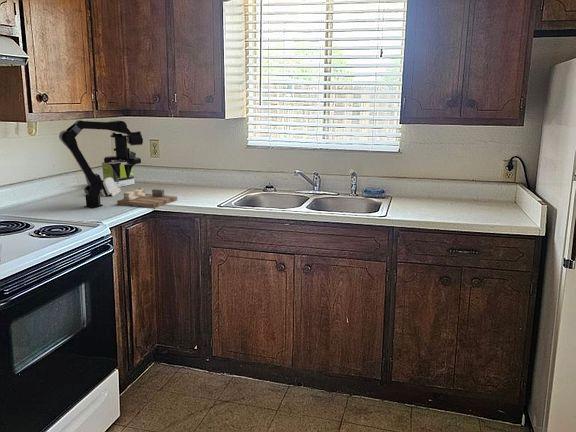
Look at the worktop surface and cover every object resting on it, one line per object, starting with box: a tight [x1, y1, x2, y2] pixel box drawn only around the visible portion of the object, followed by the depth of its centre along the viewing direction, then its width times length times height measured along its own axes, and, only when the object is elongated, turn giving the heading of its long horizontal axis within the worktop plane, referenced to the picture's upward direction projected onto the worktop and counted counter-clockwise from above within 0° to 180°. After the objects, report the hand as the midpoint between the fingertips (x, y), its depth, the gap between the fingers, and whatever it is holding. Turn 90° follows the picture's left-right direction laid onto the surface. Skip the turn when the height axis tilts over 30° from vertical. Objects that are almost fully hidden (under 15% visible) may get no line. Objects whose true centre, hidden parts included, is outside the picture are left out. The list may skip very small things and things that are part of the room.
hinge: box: [100, 177, 122, 197], centre depth 296 cm, size 17×5×10 cm, turn 2°
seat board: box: [116, 188, 178, 209], centre depth 273 cm, size 20×22×6 cm
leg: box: [123, 187, 146, 201], centre depth 273 cm, size 13×3×4 cm, turn 158°
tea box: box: [101, 161, 135, 188], centre depth 320 cm, size 15×10×15 cm, turn 145°
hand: (123, 177), depth 270 cm, fingers open, 5 cm apart
